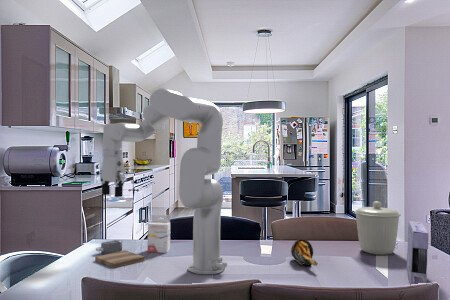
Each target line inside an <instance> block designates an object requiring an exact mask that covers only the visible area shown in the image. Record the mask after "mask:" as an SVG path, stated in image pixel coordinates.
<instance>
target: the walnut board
mask: <svg viewBox="0 0 450 300" xmlns="http://www.w3.org/2000/svg"><path fill="white" fill-rule="evenodd" d="M145 257H146V256H144V255H141V254H138V253H135V252H131V251H128V250H122V251H120V252H115V253H111V254H101V255H98V256H97V255H96V256H95V259H94V260H95V262H97V263H100V264H103V265H105V266H107V267H111V268H113V269H115V268H121V267H124V266H128V265H133V264H136V263H137V264H138V263H141V262H145V260H146V259H145Z"/></svg>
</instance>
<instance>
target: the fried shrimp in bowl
mask: <svg viewBox="0 0 450 300" xmlns="http://www.w3.org/2000/svg"><path fill="white" fill-rule="evenodd" d="M290 253H291V256H292V257H293V258H294V260H295V261H296V262H297V263H298V264H300V265H301V266H303V265H305V266H311V265H313V266H315V267H316V266H318V264H319V263H318V262H317V261H316V260H315V259H313V256H314V249H313V246H312V244H311V242H309V240H308V239H306V238H298V239H297V240H296V241H294V243H293V244H292V246H291V249H290Z"/></svg>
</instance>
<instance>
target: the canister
mask: <svg viewBox="0 0 450 300" xmlns="http://www.w3.org/2000/svg"><path fill="white" fill-rule="evenodd" d="M382 206H383V205H382V202H380V201H377V200H376V201H375V200H374V201H373V202H372V206H365V207H359V208H357V209H355V210H354V214H355V217H356V218H355V219H356V220H355V221H356V229H357V236H358V237H357V238H358V244H359V248H360V249H361V250H362V252H365V253H367V254H371V255H375V256H377V255H378V256H380V255H381V256H386V255H387V256H388V255H391V254H393V252H394V251H395V249H396V245H397V236H398V230H399V223H400V222H399V221H400V216H401V215H402V213H400V212H398V210H397V209H393V208H389V207H382Z"/></svg>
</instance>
